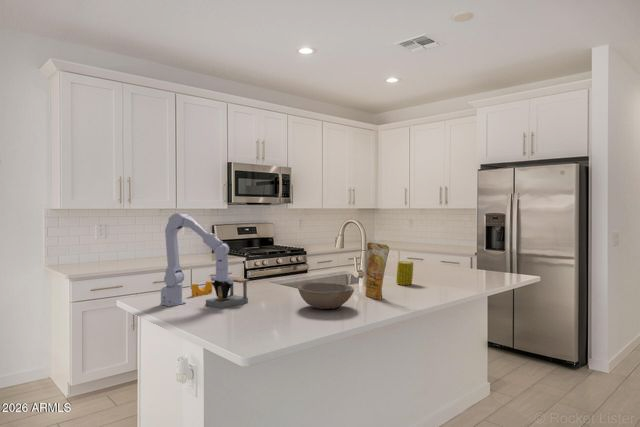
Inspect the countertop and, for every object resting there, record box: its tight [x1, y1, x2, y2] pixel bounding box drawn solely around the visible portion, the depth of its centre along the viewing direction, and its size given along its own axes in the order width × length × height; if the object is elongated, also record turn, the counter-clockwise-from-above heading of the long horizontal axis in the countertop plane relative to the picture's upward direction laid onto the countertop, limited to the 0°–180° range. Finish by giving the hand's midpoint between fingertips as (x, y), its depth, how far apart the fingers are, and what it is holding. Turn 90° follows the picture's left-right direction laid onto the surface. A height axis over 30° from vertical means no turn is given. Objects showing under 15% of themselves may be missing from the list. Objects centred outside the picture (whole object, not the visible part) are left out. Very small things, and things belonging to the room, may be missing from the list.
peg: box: [218, 286, 226, 301], centre depth 209 cm, size 4×4×8 cm
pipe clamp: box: [191, 280, 213, 298], centre depth 235 cm, size 12×4×6 cm, turn 147°
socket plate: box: [205, 276, 250, 309], centre depth 212 cm, size 16×13×12 cm
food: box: [395, 260, 414, 286], centre depth 264 cm, size 15×12×10 cm
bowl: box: [297, 282, 355, 310], centre depth 204 cm, size 26×26×10 cm
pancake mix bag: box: [365, 241, 390, 301], centre depth 227 cm, size 7×19×28 cm, turn 22°
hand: (222, 297), depth 209 cm, fingers closed on peg, 4 cm apart
